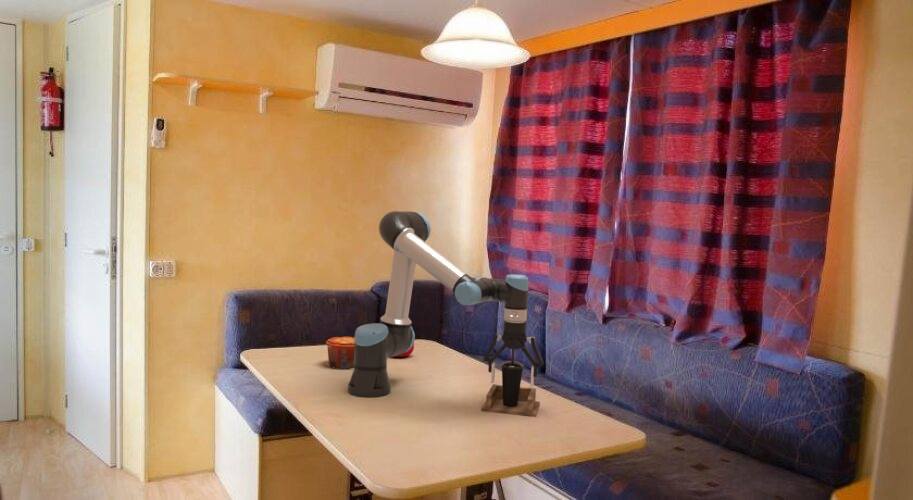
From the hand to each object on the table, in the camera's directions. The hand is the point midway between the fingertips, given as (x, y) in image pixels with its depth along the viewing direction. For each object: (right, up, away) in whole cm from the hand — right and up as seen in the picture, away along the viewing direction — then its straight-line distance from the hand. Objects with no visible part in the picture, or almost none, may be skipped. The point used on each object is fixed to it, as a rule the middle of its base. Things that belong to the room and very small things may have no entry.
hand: (512, 384), depth 219 cm
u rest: (0, -8, 0) cm, 8 cm away
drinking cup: (-1, -7, 0) cm, 7 cm away
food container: (-65, -3, +49) cm, 81 cm away
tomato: (-44, -2, +69) cm, 82 cm away
